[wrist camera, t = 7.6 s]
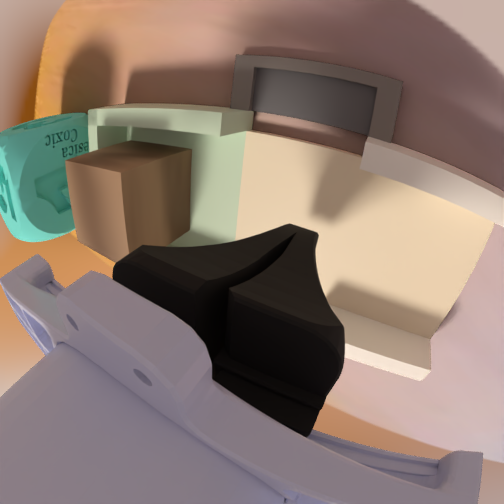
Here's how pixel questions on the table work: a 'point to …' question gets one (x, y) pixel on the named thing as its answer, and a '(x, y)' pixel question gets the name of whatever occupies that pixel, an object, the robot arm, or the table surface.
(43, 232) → the decorative dice
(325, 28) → the table surface
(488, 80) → the table surface
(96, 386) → the robot arm
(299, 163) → the tray
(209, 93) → the table surface
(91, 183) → the walnut cube
